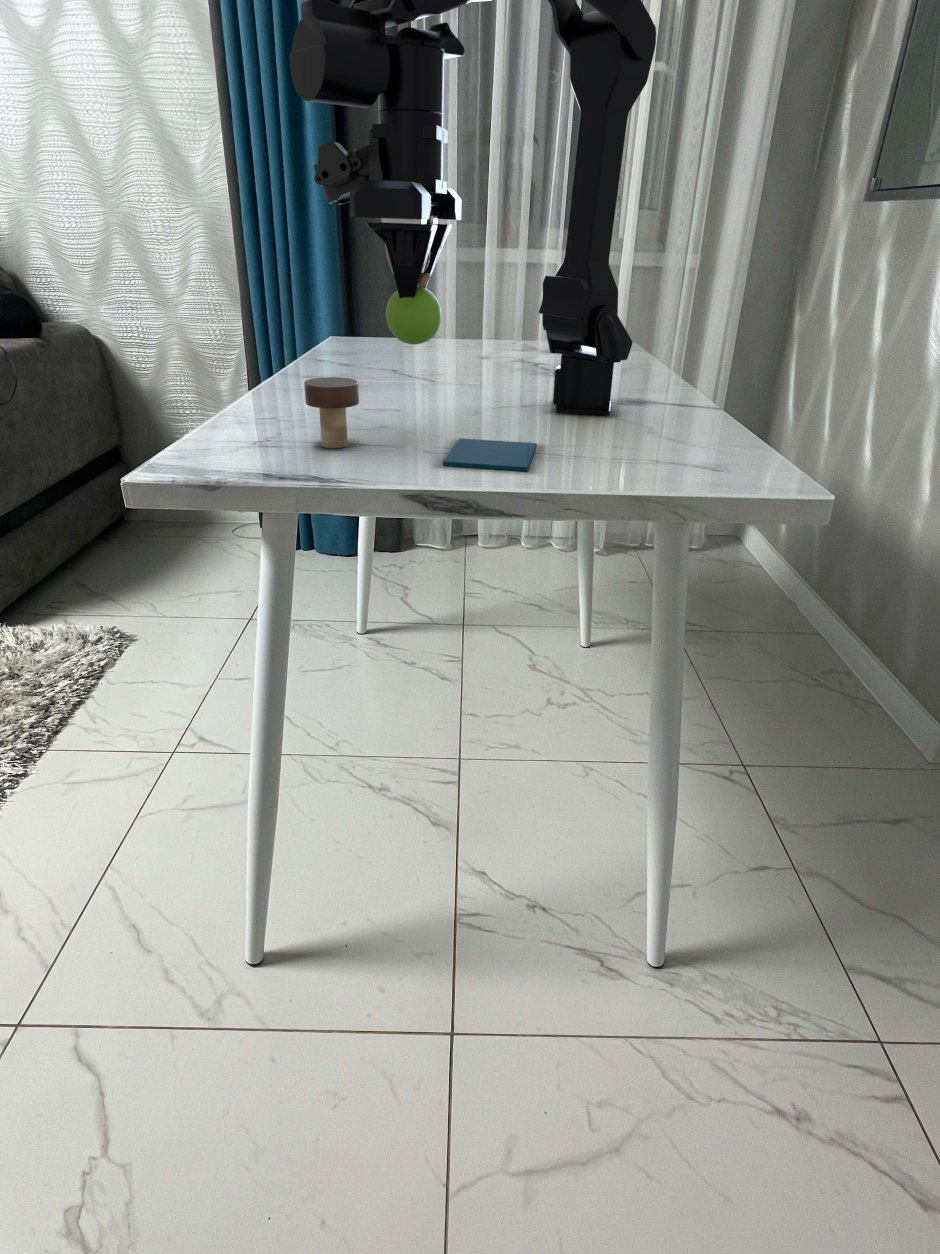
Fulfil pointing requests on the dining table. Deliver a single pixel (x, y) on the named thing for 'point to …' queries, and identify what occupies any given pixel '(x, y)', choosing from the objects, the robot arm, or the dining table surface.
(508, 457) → the flat rectangular board
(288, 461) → the dining table surface
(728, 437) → the dining table surface
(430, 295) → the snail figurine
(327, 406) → the mushroom
